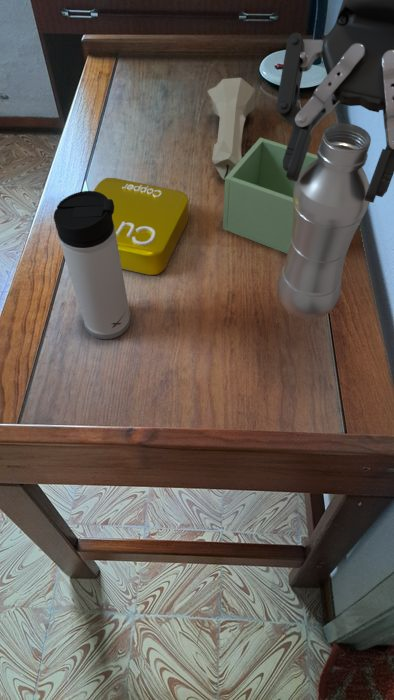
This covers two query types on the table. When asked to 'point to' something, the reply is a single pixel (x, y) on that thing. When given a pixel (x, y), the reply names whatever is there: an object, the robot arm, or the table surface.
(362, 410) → the table surface
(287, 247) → the caddy
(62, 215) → the travel mug
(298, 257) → the silver metal bottle
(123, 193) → the element tile
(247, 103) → the faceted club
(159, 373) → the table surface
